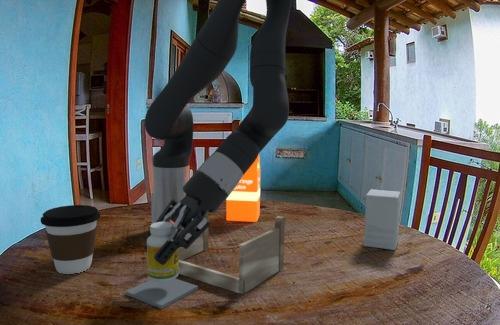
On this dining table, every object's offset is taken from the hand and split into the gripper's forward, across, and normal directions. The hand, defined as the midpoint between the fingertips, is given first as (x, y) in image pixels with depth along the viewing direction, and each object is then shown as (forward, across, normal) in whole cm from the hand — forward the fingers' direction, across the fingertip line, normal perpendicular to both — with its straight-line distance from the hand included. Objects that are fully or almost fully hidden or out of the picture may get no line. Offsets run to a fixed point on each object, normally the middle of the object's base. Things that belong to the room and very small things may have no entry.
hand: (152, 256), depth 74 cm
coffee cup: (+12, -19, -2) cm, 23 cm away
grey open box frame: (-6, -4, +16) cm, 18 cm away
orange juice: (-22, -35, +32) cm, 52 cm away
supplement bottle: (+2, 0, +4) cm, 5 cm away
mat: (+4, 0, +6) cm, 7 cm away
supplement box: (-34, +1, +45) cm, 57 cm away
